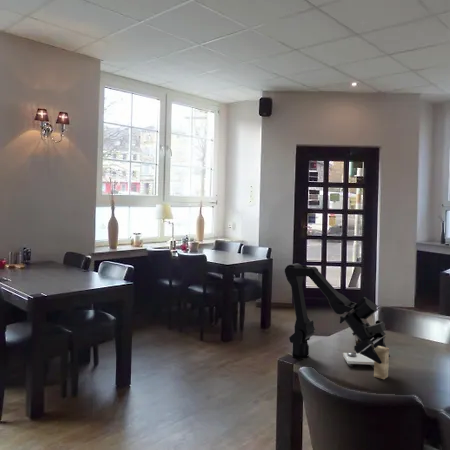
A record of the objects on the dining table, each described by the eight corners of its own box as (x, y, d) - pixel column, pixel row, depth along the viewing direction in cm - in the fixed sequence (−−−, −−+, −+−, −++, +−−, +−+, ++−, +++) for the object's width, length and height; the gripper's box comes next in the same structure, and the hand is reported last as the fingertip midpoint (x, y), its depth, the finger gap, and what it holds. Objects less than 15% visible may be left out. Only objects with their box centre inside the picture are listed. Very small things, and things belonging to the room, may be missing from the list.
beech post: (373, 376, 173) (374, 348, 172) (377, 373, 176) (378, 345, 175) (384, 379, 170) (385, 350, 169) (388, 376, 173) (389, 347, 173)
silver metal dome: (348, 356, 187) (348, 354, 187) (346, 353, 190) (346, 351, 190) (357, 357, 186) (357, 355, 186) (355, 354, 190) (355, 352, 190)
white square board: (347, 367, 182) (347, 361, 181) (342, 358, 192) (343, 352, 191) (378, 368, 181) (378, 362, 181) (371, 359, 191) (372, 353, 191)
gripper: (363, 318, 167) (392, 355, 160) (381, 309, 181) (408, 342, 175) (342, 335, 172) (370, 371, 166) (361, 325, 187) (387, 357, 180)
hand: (385, 360), depth 172 cm, fingers open, 8 cm apart
